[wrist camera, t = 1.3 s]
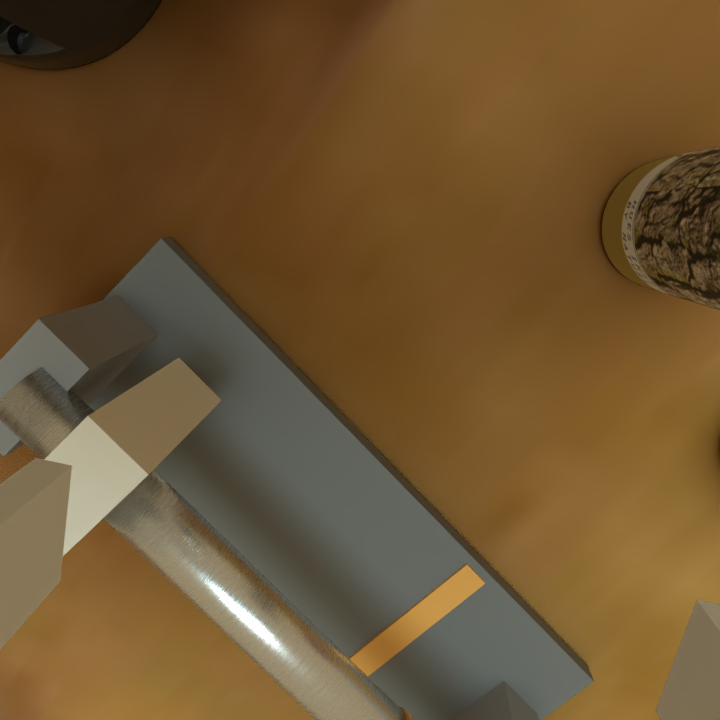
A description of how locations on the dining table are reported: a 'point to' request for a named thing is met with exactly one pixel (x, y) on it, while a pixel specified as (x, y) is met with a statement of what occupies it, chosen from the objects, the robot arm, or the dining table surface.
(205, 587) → the pipe
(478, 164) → the dining table surface
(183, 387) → the collar
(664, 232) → the wooden log
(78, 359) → the pipe stand
